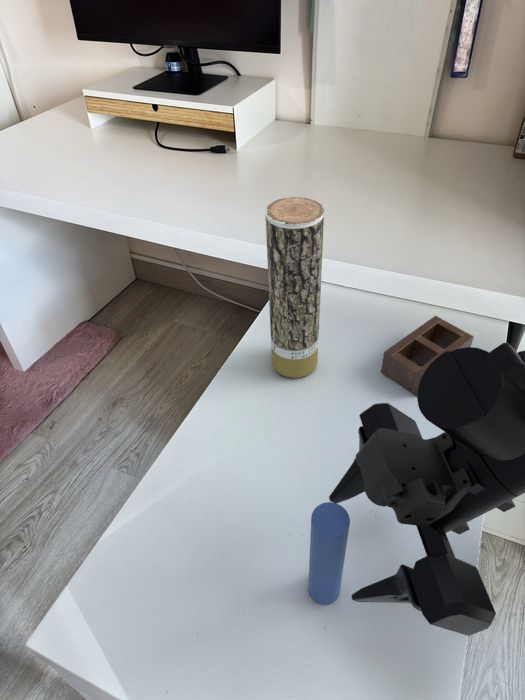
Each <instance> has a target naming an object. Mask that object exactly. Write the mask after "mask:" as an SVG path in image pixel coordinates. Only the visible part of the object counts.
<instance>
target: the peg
mask: <svg viewBox="0 0 525 700" xmlns="http://www.w3.org/2000/svg"><path fill="white" fill-rule="evenodd" d="M350 526H351V518H350V515H349V513H348V511H347V509H345V508H344V506H342V505H341V504H340V503H333V502H331V501H327V502H322V503H320V504H318V505H317V506H316V507H315V508H314V509H313V510H312V513H311V516H310V534H309V535H310V537H309V538H310V539H309V559H308V561H309V562H308V564H309V565H308V584H307V590H308V594H309V596H310V597H311V599H312V600H313V601H314V602H316V603H317V604H319V605H325V606H327V605H330V604H333V603H334V602H336V601H337V600H338V598H339V596H340V593H341V586H342V585H341V584H342V579H343V572H344V565H345V560H346V559H345V558H346V552H347V544H348V539H349V532H350Z"/></svg>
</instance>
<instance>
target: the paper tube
mask: <svg viewBox="0 0 525 700" xmlns="http://www.w3.org/2000/svg"><path fill="white" fill-rule="evenodd" d="M324 220H325V209H324V206H323V205H322V204H321V203H320V202H319V201H317V200H315V199H312V198H310V197H309V198H308V197H305V196H304V197H303V196H287V197H283V198H282V197H281V198H279V199H276V200H274V201H272V202H270V203H269V204H268V205H267V206H266V208H265V237H266V257H267V281H268V283H267V285H268V300H269V301H268V303H269V326H270V328H269V329H270V344H271V345H270V346H271V347H270V349H271V363H272V366H273V368H274V370H275V371H276V372H277V373H279V374H280V375H281V376H284V377H287V378H294V379H297V378H303V377H305V376H308V375H310V374H311V373H312V372H314V370H315V369H316V368H317V365H318V361H319V360H318V359H319V357H318V356H319V341H320V340H319V338H320V337H319V336H320V313H321V291H322V269H323V268H322V267H323V249H324V248H323V246H324V244H323V243H324V225H325V223H324V222H325V221H324Z"/></svg>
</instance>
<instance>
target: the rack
mask: <svg viewBox="0 0 525 700" xmlns="http://www.w3.org/2000/svg"><path fill="white" fill-rule="evenodd" d="M474 337H475V336H474V335H472V334H470V333H469V332H466V331H465V330H463V329H461V328H459V327H458V326H455V325H454V324H452V323H450V322H448V321H447V320H445V319H443V318H441V317H439V316H437V315H434V316H433V317H431V318H430V319H429V320H427V321H426V322H424V323H423V324H421V325H420V326H418V327H417V328H416V329H414V330H413V331H412V332H410V333H408V334H407V335H406V336H404V337H403V338H402V339H400V340H399V341H397V342H396V343H395V344H393V345H392V346H390V347H389V348H387V349H386V350H385V351H383V356H382V362H381V368H380V372H381V374H383V375H384V376H387V377H388V378H389V379H390V380H392V381H394V382H395V383H396V384H397V385H400V386H401V387H403V388H404V389H406V390H407V391H409V392H410V393H411V394H413V395H414V396H416V397H417V392H418V386H419V383H420V379H421V378H422V376H423V374H424V372H425V370H426V369H427V368H428V366H429V365H430V364H431V363H432V362H433V361H434V360H435V359H436V358H437V357H438V356H440V355H441V354H443V353H444V352H446V351H450V352H451V351H453V350H456V349H459V348H466V347H472V345H473V341H474Z"/></svg>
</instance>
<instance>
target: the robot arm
mask: <svg viewBox="0 0 525 700" xmlns="http://www.w3.org/2000/svg"><path fill="white" fill-rule="evenodd" d="M416 399H417V405H418V406H417V407H418V408H419V411H420V413H421V415H422V416H423V417H424V418H425V419H426V421H428V422H429V423H431V424H432V425H434V426H435V427H436V428H438V429H440V431H443V432H442V433H440V434H439V435H437V436H435V437H430V438H427V439H424V438H423V436H422V433H421V431H420V428H419V426H418V424H417V422H416V420H415V419H413V418H412V417H410V416H409V415H407V414H405V412H402V411H401V410H399V409H398V408H397V407H395V406H393V405H392V404H391V403H390V402H389V403H388V402H378V403H373V404H372V405H370V406H369V407H368V408H366V409H365V410H363V411H362V412H361V413H360V414H358V415H359V419H360V422H361V425H360V426H359V427H358V431H357V434H358V443H359V444H358V452H356V454H355V457H354V459H353V462H352V463H351V465H350V466H349V468H348V469H347V470H346V472H345V473H344V475H343V476H342V478H341V479H340V480H339V482H338V483H337V485H336V486H335V487H334V489H333V491H331V493H330V494H329V496H328V500H329V502H333V503H336V504H340V503H342V502H345V501H348V500H351V499H353V498H354V497H357V496H359V495H361V494H363V493H365V495H366V498H368V500H369V501H370V502H371V503H372V504H374V505H376V506H379V507H388V508H391V509H392V510H393V511H394V514H395V517H396V520H397V522H398V523H399V524H401V525H409V526H416V529H417V533H418V535H419V538H420V541H421V543H422V546H423V549H424V552H425V555H426V556H424V557H422V558H419V559H418V560H415V563H414V565H413V567H410V566H408V565H406V564H400V566H399V567H398V569H397V571H396V573H395V574H393V575H390V576H388V577H386V578H384V579H380V580H379V581H376V582H374V583H371V584H368V585H366V586H363V587H361V588H360V589H358V590H357V591H355V592H354V593H352V594H351V595H350V596H351V600H352V601H353V602H357V603H374V604H375V603H380V604H381V603H385V604H386V603H389V604H391V603H392V604H411V606H412V607H413V608H414V609H415V610H417V611H418V612H419V611H420V612H421V614H422V616H423V617H424V618H425V620H426V621H427V623H428V624H429V625H430V626H433V627H437V628H441V629H444V630H448V631H451V632H454V633H456V634H457V633H458V634H461V635H463V636H468V637H470V636H473V635H475V634H478V633H480V632H482V631H485V630H488V629H489V628H490V626H491V625H492V623H493V621H494V620H495V617H496V615H497V613H496V610H495V608H494V605H493V603H492V601H491V598H490V596H489V593H488V591H487V588H486V586H485V584H484V581H483V579H482V576H481V574H480V572H479V569H478V566H475V565H473V564H471V563H468V562H466V561H464V560H461V559H460V558H457V557H456V555H455V553H454V551H453V547H452V546H451V543H450V540H449V538H448V536H447V533H450V532H453V533H454V534H457V535H461V534H463V533H465V532H466V533H467V531H470V530H471V529H470V527H469V524H468V523H469V522H471V521H473V520H475V519H476V518H479V517H480V516H483V515H484V514H486V513H488V512H490V511H493V510H495V509H498V510H499V511H501V512H503V513H506V512H507V511H509V510H511V509H514V508H516V507H517V506H516V504H515V503H514V501H513V500H514V499H516V498H518V497H519V496H522V495H524V494H525V350H521V351H518V352H517V350H516V349H515V348H514V347H513V346H512V345H511V344H510V343H509V342H502V343H501V344H500V345H498V346H496V347H495V348H494V349H492V350H491V351H487V350H485V349H483V348H480V347H474V346H473V347H472V346H471V347H466V348H459V349H456V350H453V351H451V352H450V351H446V352H444V353H443V354H441V355H440V356H438V357H437V358H436V359H435V360H434V361H433V362H432V363H431V364H430V365H429V366H428V368H427V369H426V370H425V372H424V374H423V376H422V378H421V379H420V383H419V386H418V392H417V396H416Z"/></svg>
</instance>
